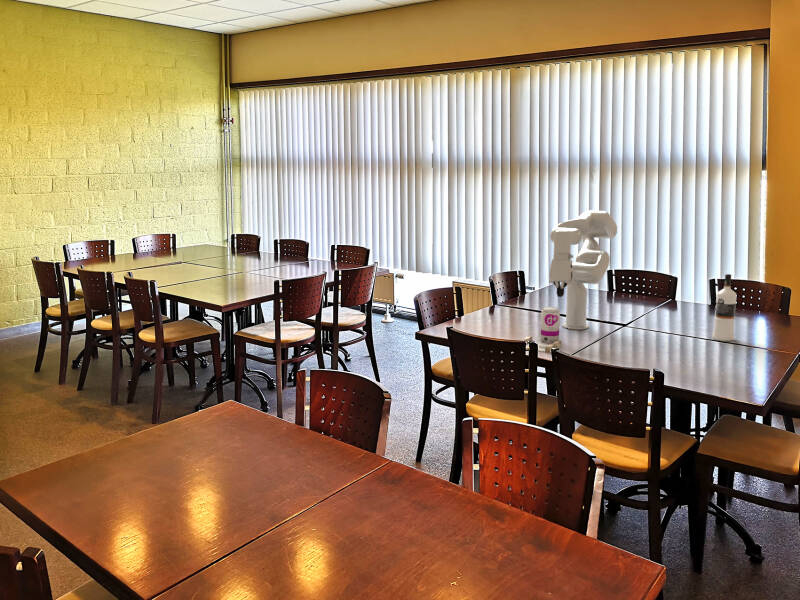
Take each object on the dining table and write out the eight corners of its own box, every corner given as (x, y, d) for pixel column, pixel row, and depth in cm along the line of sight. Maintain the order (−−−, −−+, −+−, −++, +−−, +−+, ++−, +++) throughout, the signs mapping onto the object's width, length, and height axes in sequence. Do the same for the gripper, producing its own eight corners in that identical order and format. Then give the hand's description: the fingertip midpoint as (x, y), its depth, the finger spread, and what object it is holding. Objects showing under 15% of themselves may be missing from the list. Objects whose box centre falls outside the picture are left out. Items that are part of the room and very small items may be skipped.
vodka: (738, 340, 331) (744, 275, 325) (723, 342, 327) (728, 276, 321) (722, 335, 339) (727, 272, 333) (707, 338, 336) (712, 273, 330)
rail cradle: (528, 341, 333) (528, 335, 332) (561, 345, 324) (561, 340, 324) (515, 347, 321) (515, 342, 321) (548, 352, 313) (548, 347, 312)
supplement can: (559, 343, 328) (560, 310, 325) (540, 342, 330) (541, 310, 327) (558, 339, 336) (560, 307, 333) (540, 338, 338) (541, 306, 335)
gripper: (580, 257, 333) (578, 296, 337) (549, 254, 342) (548, 293, 345) (574, 259, 327) (572, 299, 331) (543, 256, 335) (541, 296, 339)
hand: (560, 296), depth 338 cm, fingers closed
